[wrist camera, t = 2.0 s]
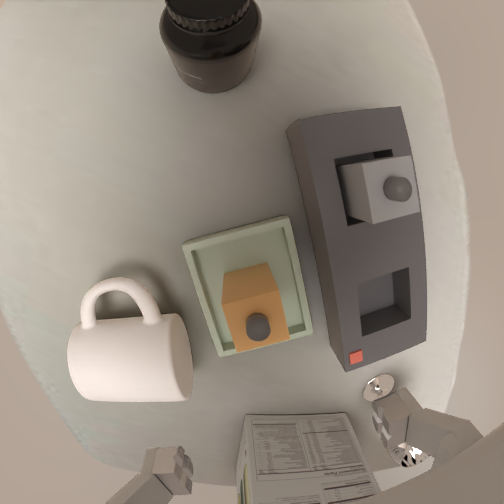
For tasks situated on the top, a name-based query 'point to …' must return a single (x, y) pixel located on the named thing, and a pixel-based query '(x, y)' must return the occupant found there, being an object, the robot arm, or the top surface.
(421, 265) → the strip
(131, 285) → the mug
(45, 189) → the top surface
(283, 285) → the tray
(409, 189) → the gray knobbed block
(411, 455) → the wineglass
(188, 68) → the supplement bottle
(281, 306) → the plug
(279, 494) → the supplement box
